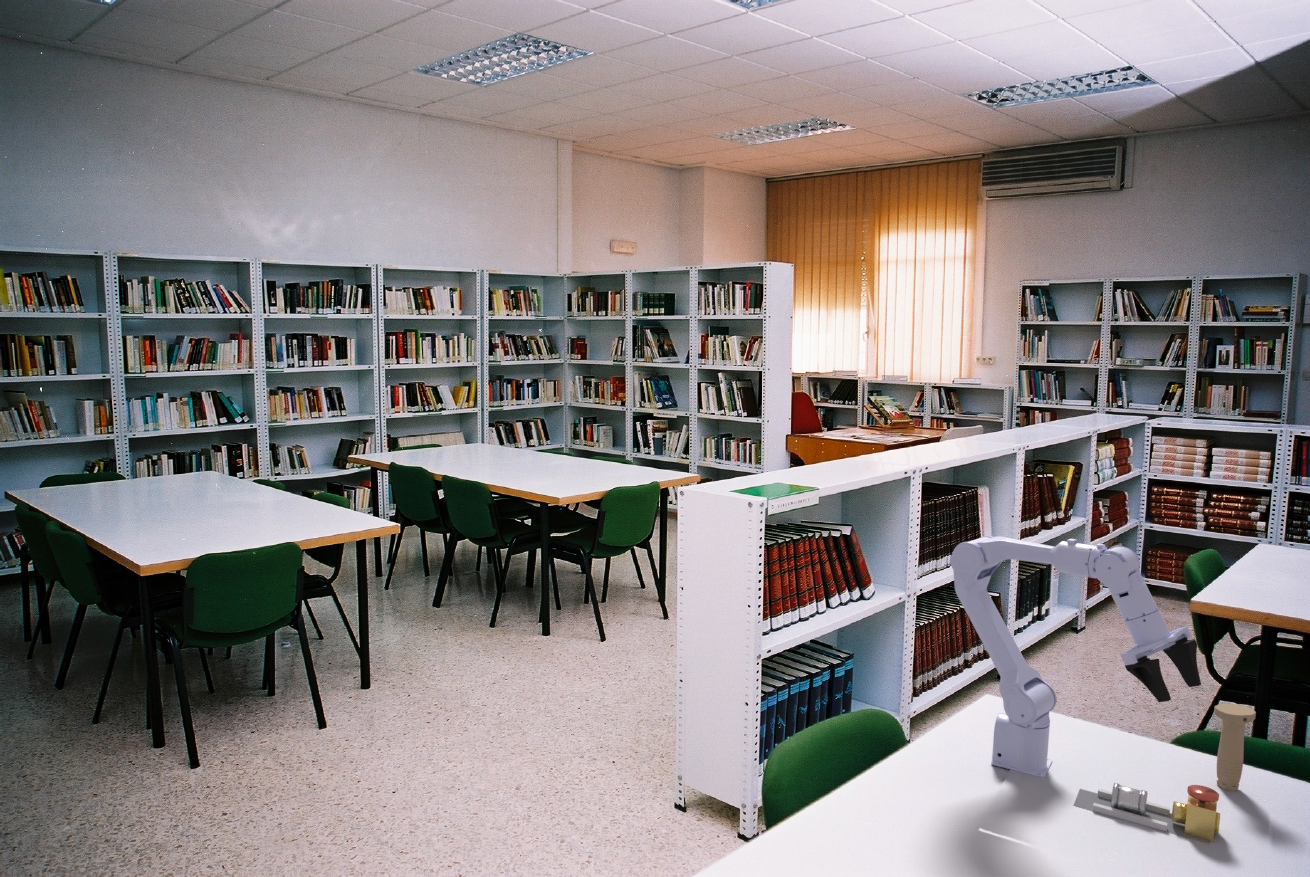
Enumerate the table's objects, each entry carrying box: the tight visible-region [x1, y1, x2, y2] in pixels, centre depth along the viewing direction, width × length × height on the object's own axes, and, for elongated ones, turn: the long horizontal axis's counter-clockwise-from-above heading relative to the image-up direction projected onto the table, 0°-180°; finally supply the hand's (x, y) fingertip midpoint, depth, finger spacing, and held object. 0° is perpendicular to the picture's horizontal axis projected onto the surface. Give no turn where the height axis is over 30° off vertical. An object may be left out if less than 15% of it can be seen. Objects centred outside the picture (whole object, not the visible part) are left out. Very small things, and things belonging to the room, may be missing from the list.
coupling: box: [1111, 782, 1148, 817], centre depth 152 cm, size 5×4×4 cm
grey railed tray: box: [1073, 788, 1211, 845], centre depth 151 cm, size 20×7×1 cm, turn 56°
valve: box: [1171, 784, 1221, 843], centre depth 146 cm, size 7×5×7 cm
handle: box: [1213, 703, 1257, 792], centre depth 160 cm, size 5×6×15 cm
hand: (1180, 693), depth 148 cm, fingers open, 7 cm apart
